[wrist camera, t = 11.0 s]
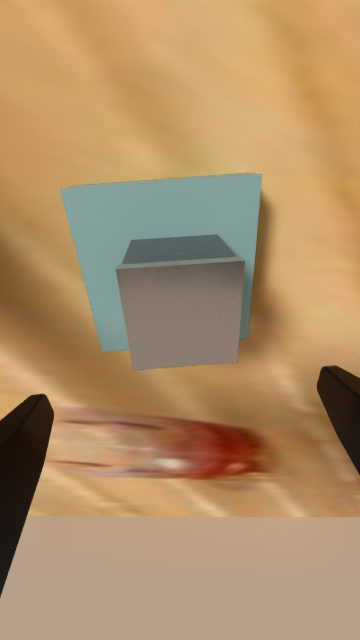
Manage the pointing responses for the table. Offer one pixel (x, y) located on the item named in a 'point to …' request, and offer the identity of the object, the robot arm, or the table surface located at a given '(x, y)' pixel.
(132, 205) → the teal box
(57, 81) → the table surface
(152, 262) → the tin
